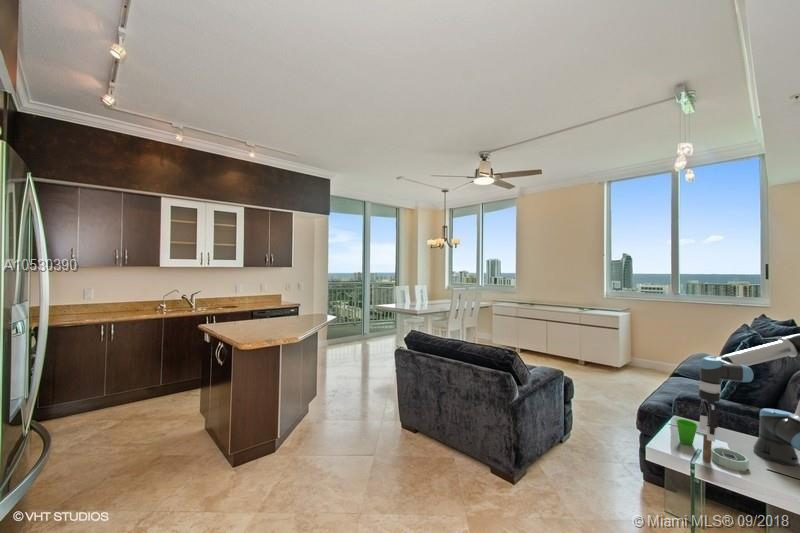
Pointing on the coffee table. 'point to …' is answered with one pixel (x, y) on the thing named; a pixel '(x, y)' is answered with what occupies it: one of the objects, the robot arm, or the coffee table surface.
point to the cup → (686, 431)
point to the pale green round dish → (729, 458)
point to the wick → (706, 449)
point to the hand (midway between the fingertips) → (706, 434)
